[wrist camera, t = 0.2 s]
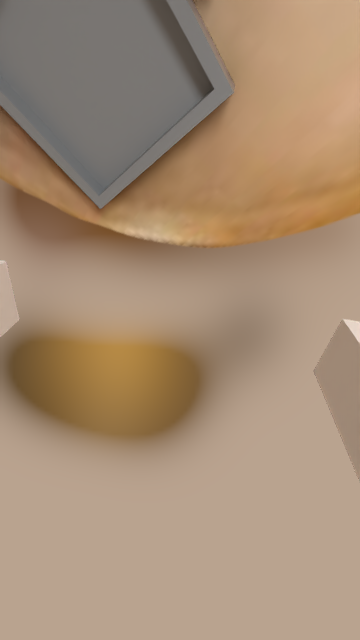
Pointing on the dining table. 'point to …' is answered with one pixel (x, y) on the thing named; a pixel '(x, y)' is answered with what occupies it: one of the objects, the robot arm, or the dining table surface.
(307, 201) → the dining table surface
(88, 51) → the tray
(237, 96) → the dining table surface
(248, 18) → the dining table surface
